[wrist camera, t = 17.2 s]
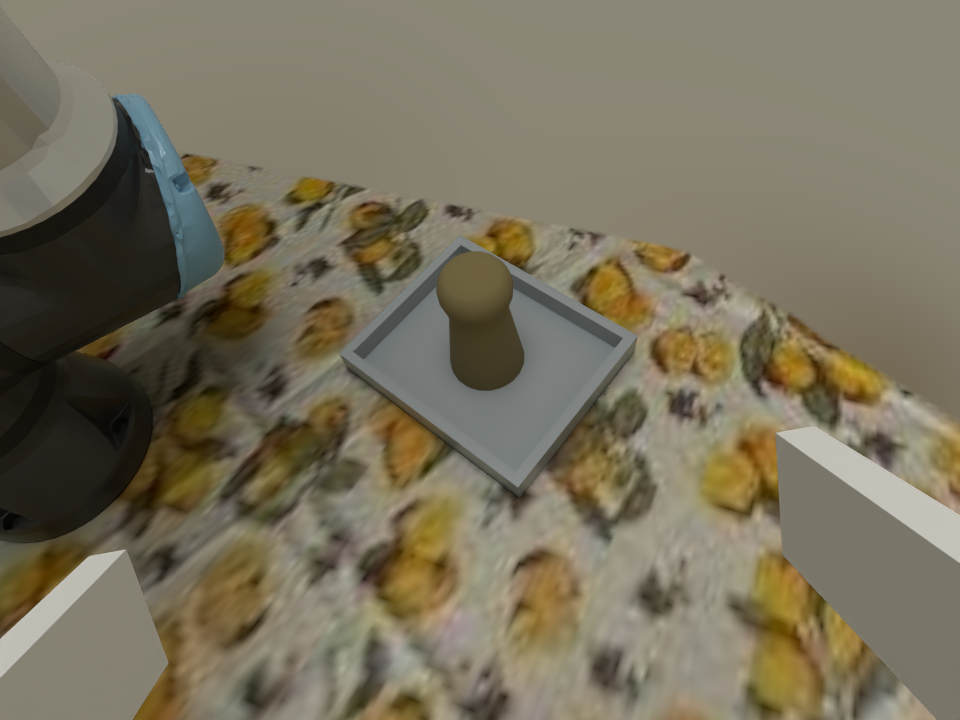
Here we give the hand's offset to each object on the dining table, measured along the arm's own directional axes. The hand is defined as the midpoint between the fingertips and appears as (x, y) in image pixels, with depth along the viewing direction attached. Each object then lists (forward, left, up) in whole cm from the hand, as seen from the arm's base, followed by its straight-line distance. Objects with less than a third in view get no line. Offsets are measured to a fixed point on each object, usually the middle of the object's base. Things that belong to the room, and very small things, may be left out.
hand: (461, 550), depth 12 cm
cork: (-15, +15, -29) cm, 36 cm away
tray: (-15, +15, -30) cm, 37 cm away
